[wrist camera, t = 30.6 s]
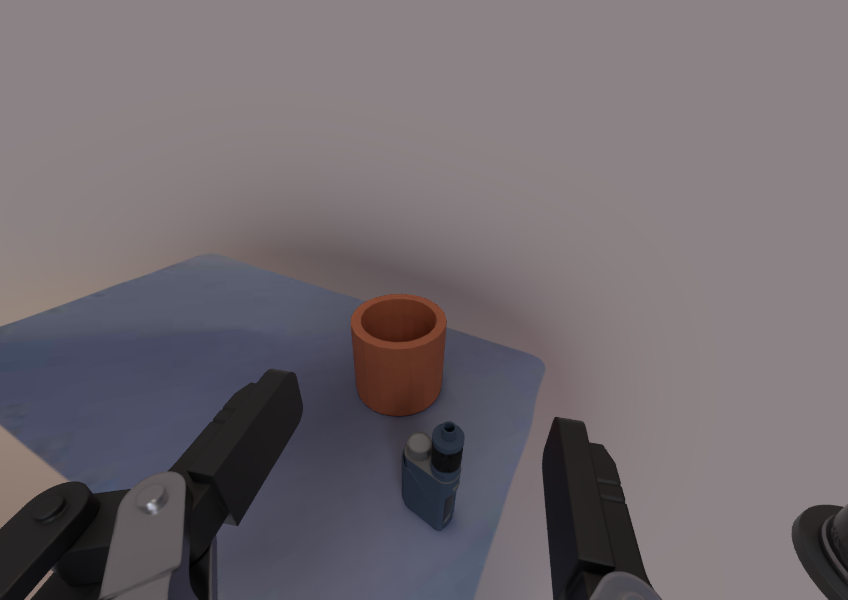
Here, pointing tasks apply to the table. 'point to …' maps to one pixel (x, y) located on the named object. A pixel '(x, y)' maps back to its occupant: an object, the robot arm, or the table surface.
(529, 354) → the table surface
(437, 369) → the terracotta planter pot
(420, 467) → the vaping device
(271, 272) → the table surface
